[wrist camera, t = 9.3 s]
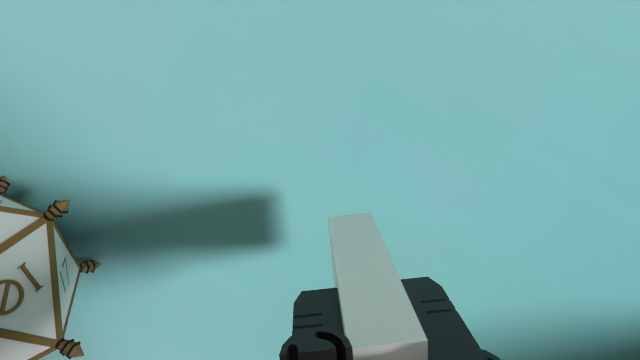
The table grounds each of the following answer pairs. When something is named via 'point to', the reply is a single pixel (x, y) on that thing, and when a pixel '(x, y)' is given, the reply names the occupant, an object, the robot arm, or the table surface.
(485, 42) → the table surface
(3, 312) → the game die
